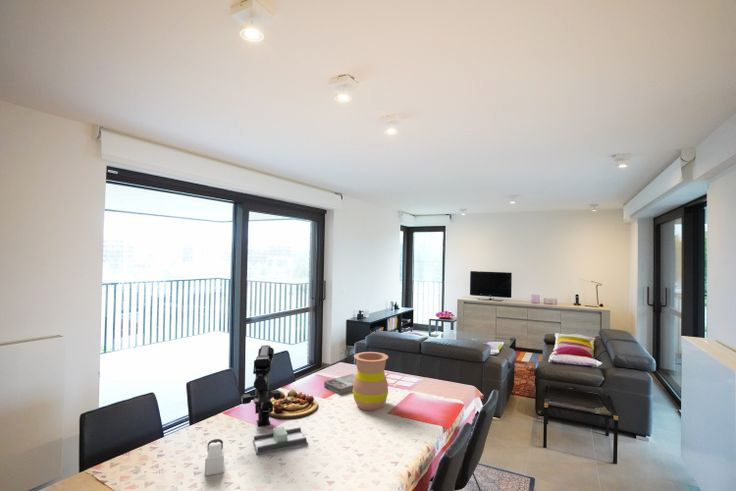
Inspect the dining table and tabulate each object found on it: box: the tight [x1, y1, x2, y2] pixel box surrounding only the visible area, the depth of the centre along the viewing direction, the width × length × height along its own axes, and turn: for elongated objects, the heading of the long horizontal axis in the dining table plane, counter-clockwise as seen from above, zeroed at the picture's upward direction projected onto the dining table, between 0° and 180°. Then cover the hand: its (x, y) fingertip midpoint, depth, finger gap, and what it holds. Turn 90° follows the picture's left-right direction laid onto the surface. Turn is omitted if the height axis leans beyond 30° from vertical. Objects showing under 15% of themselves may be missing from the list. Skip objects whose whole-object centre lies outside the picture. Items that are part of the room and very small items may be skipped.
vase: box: [352, 351, 389, 412], centre depth 226 cm, size 22×22×30 cm
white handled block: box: [204, 438, 225, 476], centre depth 156 cm, size 7×7×12 cm
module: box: [273, 426, 288, 443], centre depth 179 cm, size 8×5×4 cm, turn 27°
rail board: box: [252, 427, 308, 456], centre depth 179 cm, size 13×24×3 cm, turn 115°
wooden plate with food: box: [269, 389, 319, 420], centre depth 221 cm, size 32×32×8 cm
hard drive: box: [323, 373, 357, 396], centre depth 257 cm, size 18×27×4 cm
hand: (261, 413), depth 184 cm, fingers closed
